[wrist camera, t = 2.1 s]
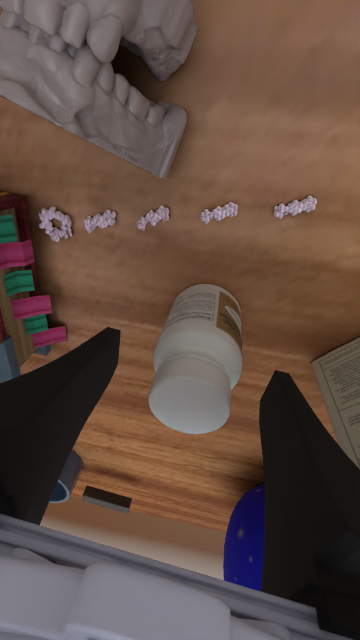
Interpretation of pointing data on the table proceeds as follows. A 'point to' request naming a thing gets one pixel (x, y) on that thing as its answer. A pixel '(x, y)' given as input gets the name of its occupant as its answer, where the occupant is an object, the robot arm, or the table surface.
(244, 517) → the ornament
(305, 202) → the pink molecule models
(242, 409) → the table surface
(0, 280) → the decorative book
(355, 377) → the cosmetic box
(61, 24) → the dental mold
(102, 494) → the dark grey rectangular bar
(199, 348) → the pill bottle
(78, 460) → the dark grey open cylinder
